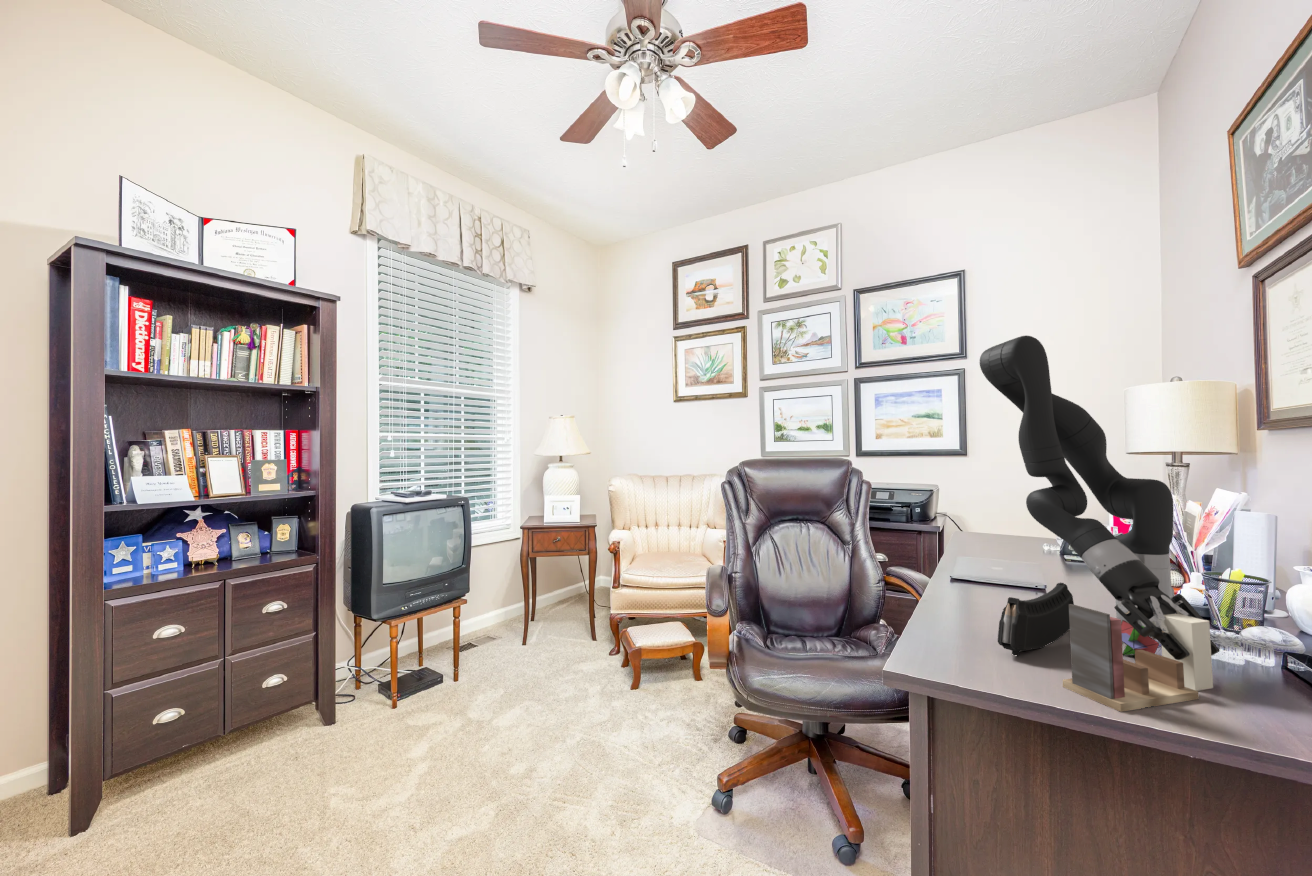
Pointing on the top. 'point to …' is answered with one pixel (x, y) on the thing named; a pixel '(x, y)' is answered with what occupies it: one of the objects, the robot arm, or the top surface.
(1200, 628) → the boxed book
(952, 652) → the top surface
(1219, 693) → the top surface
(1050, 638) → the magazine
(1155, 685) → the book rack
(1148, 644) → the geometric puzzle
